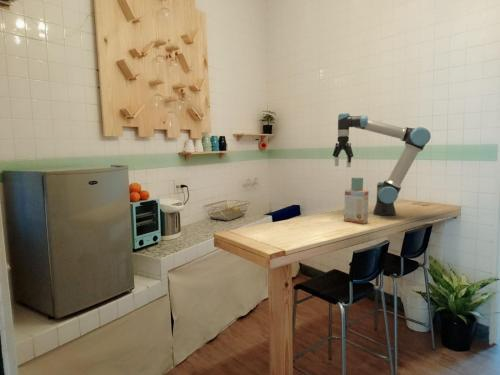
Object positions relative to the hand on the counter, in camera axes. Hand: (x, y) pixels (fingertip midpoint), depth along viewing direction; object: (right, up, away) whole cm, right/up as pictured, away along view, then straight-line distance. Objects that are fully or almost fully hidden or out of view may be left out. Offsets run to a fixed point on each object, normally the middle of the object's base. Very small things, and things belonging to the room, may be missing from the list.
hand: (342, 166), depth 235 cm
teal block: (+4, -16, -19) cm, 25 cm away
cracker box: (+4, -37, -17) cm, 41 cm away
